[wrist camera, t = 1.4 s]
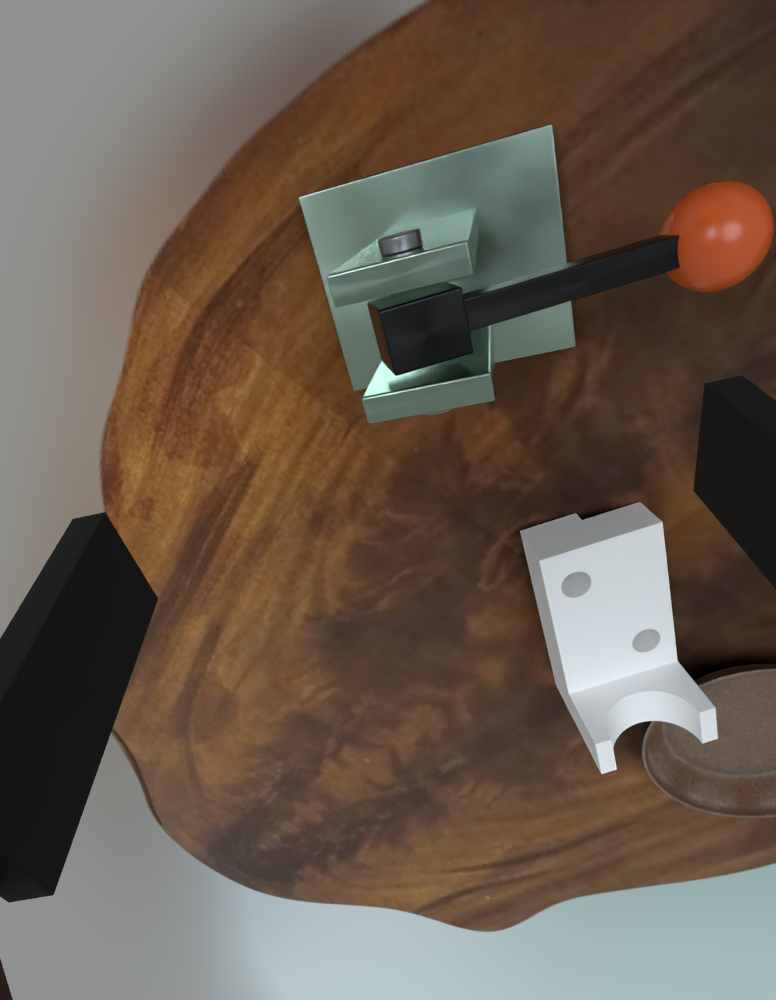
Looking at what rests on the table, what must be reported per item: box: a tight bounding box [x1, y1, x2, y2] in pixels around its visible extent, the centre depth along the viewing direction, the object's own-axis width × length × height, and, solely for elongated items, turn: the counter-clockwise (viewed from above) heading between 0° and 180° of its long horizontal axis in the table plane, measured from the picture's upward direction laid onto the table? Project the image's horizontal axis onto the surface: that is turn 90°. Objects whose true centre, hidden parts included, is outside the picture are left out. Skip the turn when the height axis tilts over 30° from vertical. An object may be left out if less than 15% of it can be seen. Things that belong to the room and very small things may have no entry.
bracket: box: [520, 502, 718, 774], centre depth 36 cm, size 13×7×8 cm, turn 17°
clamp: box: [299, 124, 576, 424], centre depth 25 cm, size 12×10×14 cm
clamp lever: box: [367, 181, 774, 376], centre depth 21 cm, size 14×4×4 cm, turn 104°
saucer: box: [642, 664, 776, 818], centre depth 42 cm, size 15×15×3 cm
